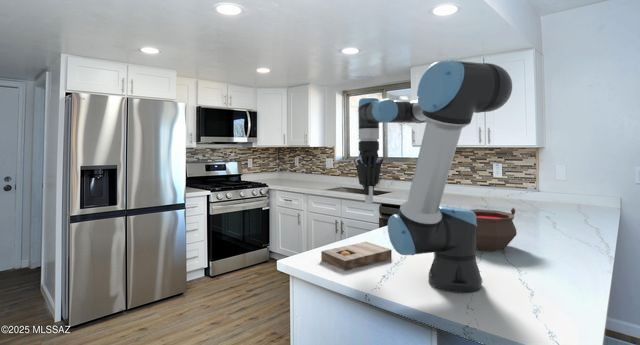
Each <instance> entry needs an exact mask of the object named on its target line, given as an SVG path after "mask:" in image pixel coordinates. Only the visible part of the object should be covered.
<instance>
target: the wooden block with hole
mask: <svg viewBox="0 0 640 345" xmlns="http://www.w3.org/2000/svg"><path fill="white" fill-rule="evenodd" d="M392 250H393V249H392V248H387V247H385V246H382V245H381V246H380V245H378V244H375V243H371V242H368V241H363V242H359V243H358V242H357V243H354V244H349V245H348V244H347V245H344V246H339V247H335V248H330V249H325V250H321V252H320V253H321V256H320V258H321V260H320V261H322V262H324V263H327V264H328V265H329V266H330V265H331V266H333V267H335V268H338V269H340V270H343V271H344V272H346V271H351V270H355V269H358V268H362V267H363V268H364V267H366V266H370V265H373V264H377V263H382V262H385V261H388V260H392V259H393V258H392V253H393V252H392ZM344 251H347V252H349V253H350V255H347V256H343V255H341V253H342V252H344Z"/></svg>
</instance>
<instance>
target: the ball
mask: <svg viewBox="0 0 640 345" xmlns="http://www.w3.org/2000/svg"><path fill="white" fill-rule="evenodd" d="M341 255H343V256H347V255H350V253H349V252H347V251H344V252H342V253H341Z"/></svg>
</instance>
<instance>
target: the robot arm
mask: <svg viewBox="0 0 640 345" xmlns="http://www.w3.org/2000/svg"><path fill="white" fill-rule="evenodd" d="M512 93H513V80H512V78H511V76H510V74H509V73H508V71H507V70H506V69H504V67H501V66H499V65H497V64H494V63H487V62H483V63H482V62H473V61H461V60H453V59H452V60H440V61H436V62H434V63H432V64H431V65H430V66H429V67H427V69H425V71H424V73H423V74H422V76H421V78H420V80H419V83H418V86H417V91H416V96H417V97H418V98H417V99H416V100H409V101H408V100H407V101H406V100H393V99H391V98H382V99H379V98H377V97H362V98H360V99H359V101H358V109H357V110H358V111H357V112H358V140H360V141H358V151H359V154H358V158H355V159H354V160H353V162H354V165H355V166H356V167H355V168H356V172H357V178H358V184H359V185H361V186H362V187H363V194H364V195H363V196H364V203H365V204H368V205H372V204H374V193H375V187H376V186H377V185H378V184H379V180H380V174H381V169H382V164H383V163H384V159H383V158H380V157H379V153H378V151H379V150H380V142H379V139H380V124H382V123H384V124H385V123H390V124H391V123H395V124H396V123H400V124H402V123H404V124H405V123H406V124H409V123H410V124H411V123H412V124H424V123H425V126H424V127H425V128H424V131H423V136H422V139H421V143H420V148H419V151H418V155H417V160H416V164H415V168H414V172H413V176H412V181H411V185H410V189H409V193H408V195H407V196H408V197H407V200H406V201H403V202H402V203H401V204H400V207H399V211H398V214H395V213H394V214H392V215H391V216H389V218H388V221H387V234H388V237H389V242H390V243H391V246H392V248H393V249H394V250H395V252H396V253H397V254H399V255H401V256H415V255H421V254H430V253H434V252H435V257H434V256H433V260H432V264H431V265H430V269H429V271H428V283H429V284H430V285H431V286H433V287H434V288H437V289H439V290H442V291H447V292H452V293H463V294H464V293H466V294H467V293H475V292H478V291H479V290H481V289H482V288H483V282H482V281H483V279H482V275H481V273H480V272H481V271H480V269H479V265H478V263H477V249H476V234H477V223H476V214H475V213H474V212H473V211H471V210H472V209H468V208H467V209H466V208H462V207H454V206H448V205H440V204H441V202H442V199H443V194H444V191H445V188H446V184H447V181H448V177H449V173H450V171H451V167H452V165H453V164H452V163H453V161H454V157H455V153H456V150H457V147H458V143H459V139H460V136H461V133H462V130H463V128H465V127H467V126H469V125H470V124H471V122H472V119H473V116H474V113H475V114H478V113H479V114H480V113H488V112H489V113H490V112H494V111H497V110H499V109H500V108H502V107H503V106H504V105H505V104H507V102H508V101H509V99H510V97H511V94H512Z"/></svg>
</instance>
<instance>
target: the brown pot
mask: <svg viewBox="0 0 640 345" xmlns="http://www.w3.org/2000/svg"><path fill="white" fill-rule="evenodd" d="M470 210H471V211H473V212H474V213H475V214H476V223H477V234H476V251H477V250H478V251H484V252H485V251H486V252H497V251H498V252H499V251H504V250H505V249H506V248H507V246H508V245H509V244H510V243H512V241H513V239H514V238H515V237H516V236H517V228H516V226H515V223H514V219H515V213H516V209H515V207H512V208H511V210H510V212H506V211H502V210H497V209H496V210H495V209H494V210H493V209H480V208H479V209H478V208H476V209H470Z"/></svg>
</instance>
